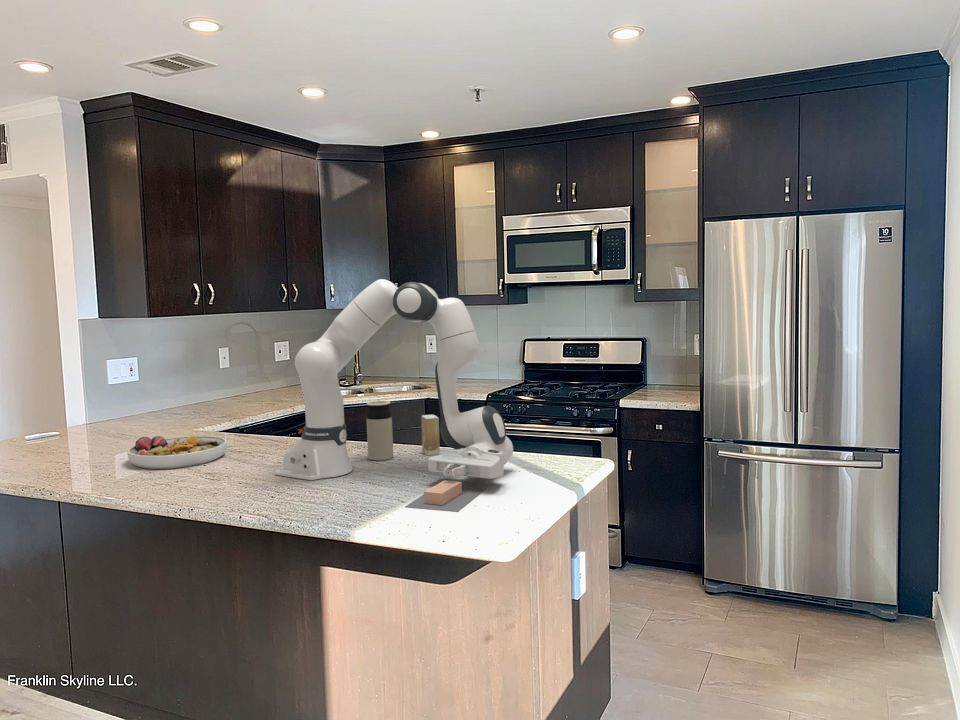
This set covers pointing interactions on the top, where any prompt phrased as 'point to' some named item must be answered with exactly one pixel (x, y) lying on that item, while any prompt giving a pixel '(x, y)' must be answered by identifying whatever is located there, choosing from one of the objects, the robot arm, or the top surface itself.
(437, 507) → the mat
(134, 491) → the top surface
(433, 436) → the skincare box
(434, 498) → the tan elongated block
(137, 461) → the bowl
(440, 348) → the robot arm
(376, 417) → the travel mug
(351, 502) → the top surface
